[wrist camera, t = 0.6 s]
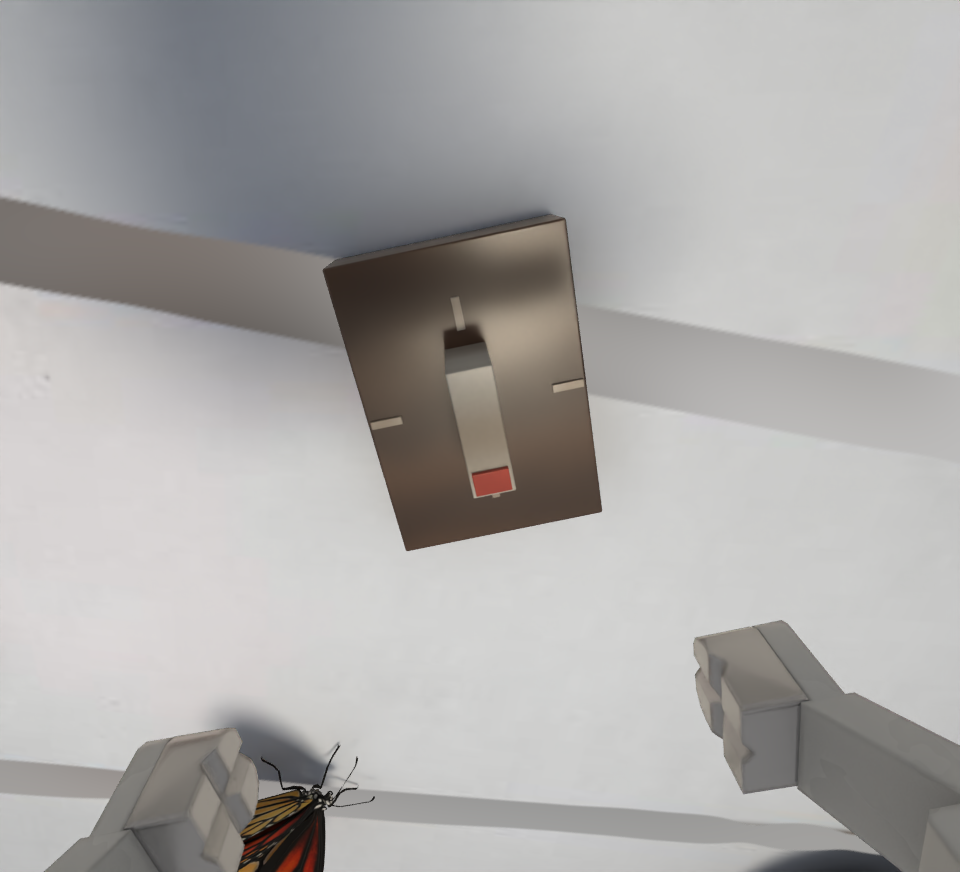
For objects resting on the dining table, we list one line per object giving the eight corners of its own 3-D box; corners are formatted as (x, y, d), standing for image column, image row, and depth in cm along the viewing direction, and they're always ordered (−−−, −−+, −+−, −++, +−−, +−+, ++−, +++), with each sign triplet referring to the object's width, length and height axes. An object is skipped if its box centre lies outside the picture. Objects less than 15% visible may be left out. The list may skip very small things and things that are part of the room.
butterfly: (393, 819, 42) (380, 998, 32) (261, 845, 42) (212, 1030, 33) (342, 699, 37) (310, 871, 27) (193, 730, 37) (113, 910, 28)
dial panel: (333, 259, 26) (320, 269, 23) (552, 213, 26) (566, 217, 23) (408, 520, 32) (405, 554, 29) (588, 483, 32) (603, 514, 29)
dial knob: (444, 349, 25) (445, 376, 21) (485, 341, 25) (492, 366, 21) (469, 461, 27) (473, 502, 24) (507, 453, 27) (517, 493, 24)
